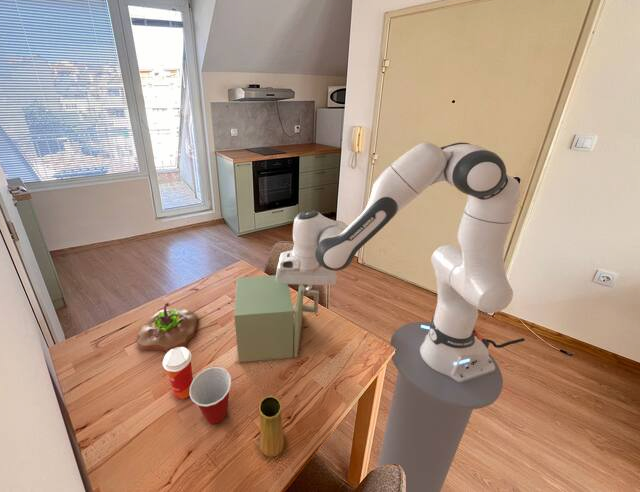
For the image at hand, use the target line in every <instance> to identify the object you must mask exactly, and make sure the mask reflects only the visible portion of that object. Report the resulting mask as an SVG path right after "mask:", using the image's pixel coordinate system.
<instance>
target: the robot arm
mask: <svg viewBox="0 0 640 492" xmlns="http://www.w3.org/2000/svg"><path fill="white" fill-rule="evenodd" d="M440 182H446V183H448V184H449V185H450V186H452V187H454V188H456V189H457V190H458V191H459V192H460V193H463V194H465V195H467V201H466V204H465V206H464V210H463V213H462V216H461V220H460V222H459V223H460V224H459V227H458V229H457V233H456V239H457V242H458V244H459V246H460V247H459V246H457V245H453V244H450V243H449V244H443V245H441V246H439V247H438V248H436V249H435V250H434V251H433V252H432V255H431V257H430V263H431V267H432V268H433V271H434V275H435V280H436V291H437V300H436V305H435V306H436V307H435V311H434V315H433V317H432V318H431V321H430V322H431V324H430V327H428V326H424V325H421V327H422V328H426V329H429V332H428V335H426V337H425V341H424V342H423V344H422V345H421V347H420V354H421V357H422V358H423V360H424V361H425V362H426V364H427V365H429V366H430V367H431V368H432V369H434V370H436V371H437V372H439V373H442V374H444V375H447V376H449V377H451V378H452V379H454V380H455V381H457V382H464V381H467V380H470V379H473V378H476V377H479V376H482V375H485V374H488V373H491V372H494V371H495V365H494V363H493V361H492V359H491V358H490V357H489V354H490V353H489V347H490V344H492V346H493V347H494V348H496V349H501V348H505V347H507V346H510V345H514V344H519V343H522V342H525V341H526V339H525V338H523V337H521V338H518V339H517V338H516V339H514V340H510V341H506V342H504V343H501V344H496V342H495V341H494V340H492V339H487V338H485V336H484V335H483V334H482V333H481V332H480V331H478V330H476V329H475V326H476V323H477V320H478V318H479V311H481V312H482V313H485V314H495V313H499V312H502V311H503V310H505V309H507V308H508V306H509V305H510V304H511V302H512V301H513V298H514V289H513V288H512V287H511V284H510V282H509V280H508V277H507V274H506V268H505V259H504V258H505V256H504V253H505V245H506V243H507V239H508V236H509V233H510V230H511V228H512V224H513V222H514V219H515V217H516V213H517V210H518V205H519V200H520V192H521V184H520V183H519V181H518V180H517V179H516V178H515V177H512V176H510V175H508V174H507V168H506V164H505V162H504V160H503V159H502V157H500V156H499V155H498V154H497V153H496V152H494V151H491V150H489V149H487V148H485V147H483V146H481V145H477V144H471V143H469V142H454V143H450V144H448V145H444V146H441V147H440V146H439V145H437V144H434V143H432V142H427V141H426V142H421V143H418V144H417V145H415V146H413V147H412V148H410V149H409V150H407V151H406V152H404V153H403V154H402V155H401V156H399V157H398V158H397V159H395V160H394V161H393V162H392V163H391V164H390V165H389V166H387V168H385V169H384V170H383V171H382V172H381V174H380V175H379V176H378V177H377V178H376V180H375V181H374V182H373V184H372V188H371V192H370V195H369V199H368V202H367V205H366V207H365V208H364V210H363V211H362V212H361V214H360V215H358V217H357V218H355V219H354V220H353V221H352V222H351V223H350V224H349V225H347V224H346V223H345V222H343V221H341V220H334V219H331V218H328V217H326V216H324V215H322V214H321V213H320V211H317V210H313V209H308V210H303V211H301V212H298V214H297V215H296V216H295V217H294V220H293V224H292V241H293V247H292V249H290V250H286V251H282V252H280V255H279V259H278V263H277V266H276V273H275V275H276V282H277V283H278V284H288V285H298V288H299V287H300V288H301V290H303V292H302V294H309V290H312V287H313V286H336V284H337V272H338V271H342V270H345V269H347V268H348V267H349V266H350V265H351V263H352V262H353V260H354V257H355V256H356V254H357V252H359V250H360V249H361V248H362V247H363V246H365V245H366V244H367V243H368V242H369V241H370V240H371V239H372V238H373V237H375V235H376V234H378V233H379V232H380V231H381V230H382V229H383V228H384V227H385V226H386V225H387V224H388V223H389V222H390V221H391V220H392V219H393V218H394V217H395V216H396V215H398V213H399V212H400V211H402V210H403V209H404V208H405V207H406V206H407V205H408V204H411V202H412V201H414V200H415V199H416V198H417V197H418V196H419V195H421V194H422V193H423V192H425V191H426V190H427V189H428V188H429V187H431V186H432V185H434V184H436V183H440ZM303 285H304V286H303Z"/></svg>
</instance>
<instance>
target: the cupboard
mask: <svg viewBox="0 0 640 492" xmlns="http://www.w3.org/2000/svg"><path fill="white" fill-rule="evenodd" d="M235 283H236V285H235V298H234V299H235V301H234V314H233V315H234V325H235V326H234V328H235V336H236V338H235V339H236V346H237V347H236V349H237V359H238V363H246V362H256V361H257V362H258V361H266V360H269V361H270V360H280V359H289V358H291V359H292V358H294V321H295V309H294V304H293V301H292V296H291V291H290V286H289V285H290V284H278V283H277V282H276V274H274V275H259V276H243V277H236V282H235Z"/></svg>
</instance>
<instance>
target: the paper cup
mask: <svg viewBox="0 0 640 492" xmlns="http://www.w3.org/2000/svg"><path fill="white" fill-rule="evenodd" d="M162 367H163V369H164V370H165V372H166V375H167V379H168V381H169V385H170V387H171V390H172V392H173V395H174V397H175V398H176V399H178V400H184V399H187V398H188V397H190V395H189V391H190V385H191V383H192V381H193V379H194V378H193V367H192V352H191V351H190V350H189V349H188V348H186V346H185V347H181V348H180V347H177V348H175V349H171V350H169V351H168V352H166V353H165V355H164V357H163V360H162Z"/></svg>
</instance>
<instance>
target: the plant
mask: <svg viewBox="0 0 640 492" xmlns="http://www.w3.org/2000/svg"><path fill="white" fill-rule="evenodd" d="M170 304H171V303H170V302H168V301H167V302H165V303H164V307H163V309H160V310H159V311H157V312H156V313H155V314H154V315H152V316H151V317H150V318H148V320H147V322H146V324H145V325H143V326H141V327H140V331H138V333H137V336H138V339H137V341H136V343H137V346H138V348H140V349H141V350H143V351H148V352H149V351H162V352H166V353H167V352H168V351H169V350H171V349H175V348H177V347H180V348H181V347H185V348H186V346H187V343H188V342H189V341H190V340H191V339H193V338H194V336H195V333H196V329H197V324H198V319H199V318H198V314H196V313H194V312H193V311H191V310H189V309H187V308H180V307H174V308H170V309H169V308H168V309H167V307H170Z"/></svg>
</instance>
